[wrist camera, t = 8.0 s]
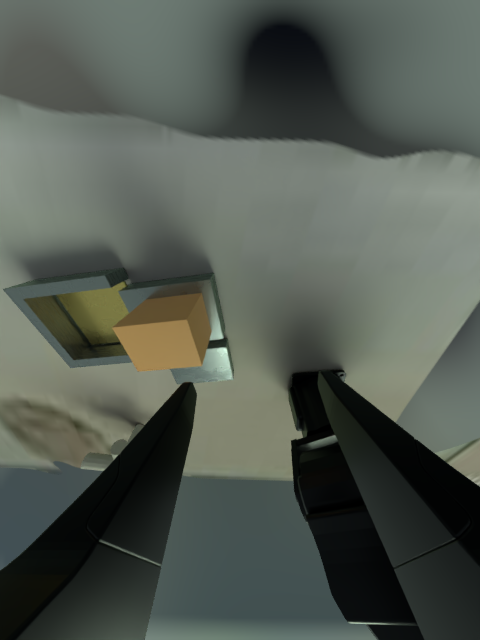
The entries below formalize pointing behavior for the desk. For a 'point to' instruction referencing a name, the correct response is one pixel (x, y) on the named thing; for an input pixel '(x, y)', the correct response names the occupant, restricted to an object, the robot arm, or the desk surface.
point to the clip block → (166, 333)
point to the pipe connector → (104, 460)
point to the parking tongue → (209, 365)
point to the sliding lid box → (101, 310)
